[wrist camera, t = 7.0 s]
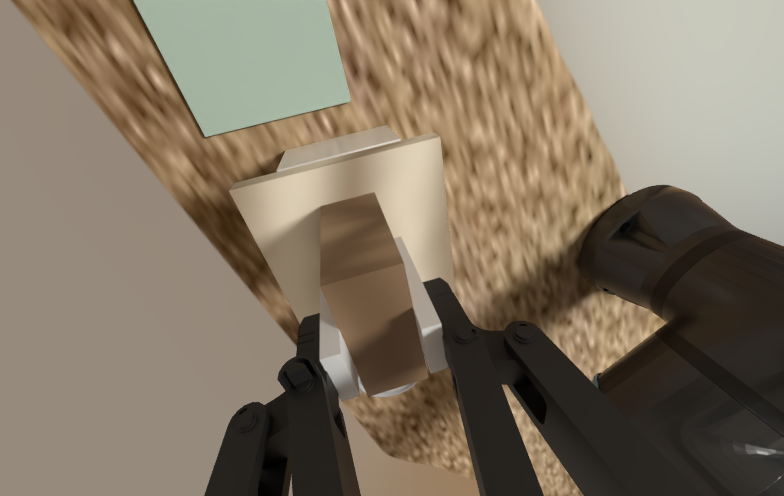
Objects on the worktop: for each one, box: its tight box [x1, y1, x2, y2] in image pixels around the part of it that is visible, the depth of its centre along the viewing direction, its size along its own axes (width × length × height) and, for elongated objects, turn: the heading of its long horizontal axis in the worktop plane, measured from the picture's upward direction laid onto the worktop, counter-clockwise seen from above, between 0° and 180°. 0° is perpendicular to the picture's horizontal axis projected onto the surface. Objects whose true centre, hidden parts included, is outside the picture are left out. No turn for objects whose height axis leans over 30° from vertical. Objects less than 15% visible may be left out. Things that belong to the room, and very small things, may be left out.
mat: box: [133, 0, 351, 137], centre depth 21 cm, size 12×12×1 cm
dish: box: [277, 125, 401, 172], centre depth 26 cm, size 9×9×6 cm
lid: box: [229, 133, 456, 397], centre depth 16 cm, size 11×11×8 cm
